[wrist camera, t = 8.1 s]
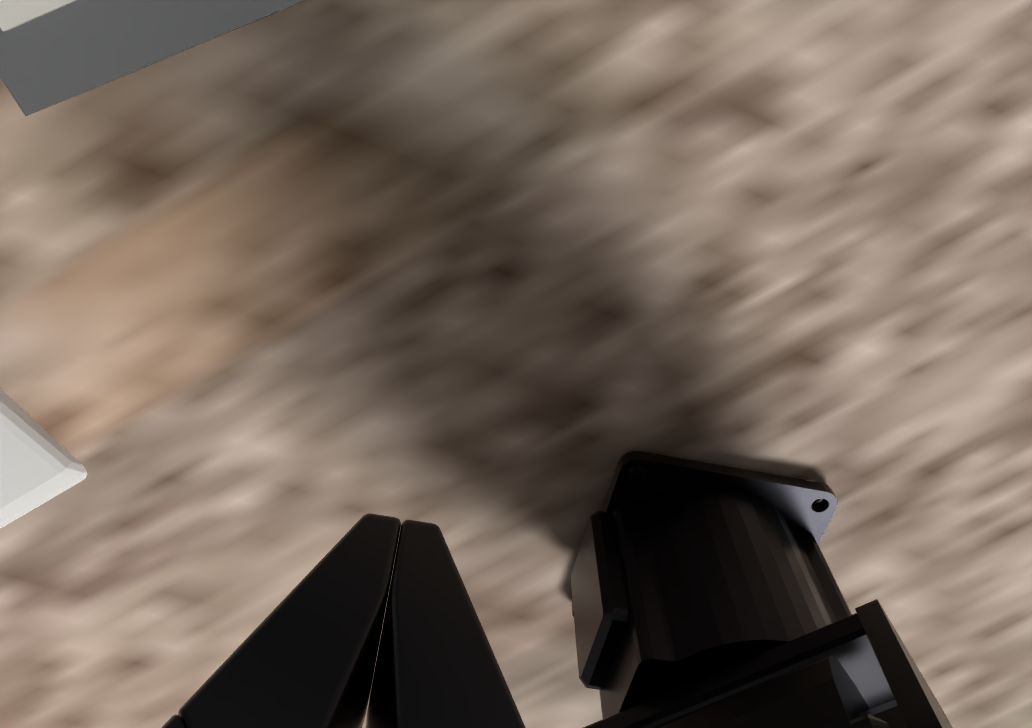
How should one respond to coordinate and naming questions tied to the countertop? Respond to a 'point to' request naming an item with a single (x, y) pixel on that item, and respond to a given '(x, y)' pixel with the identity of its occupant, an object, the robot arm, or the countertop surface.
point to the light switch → (30, 463)
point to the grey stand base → (104, 40)
